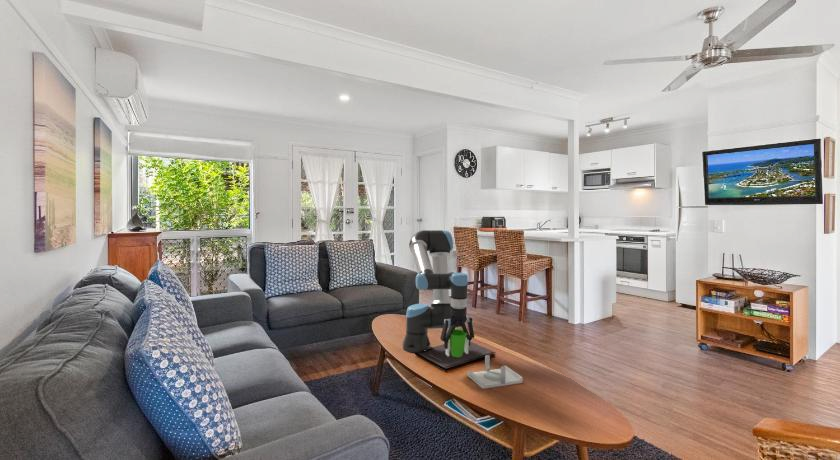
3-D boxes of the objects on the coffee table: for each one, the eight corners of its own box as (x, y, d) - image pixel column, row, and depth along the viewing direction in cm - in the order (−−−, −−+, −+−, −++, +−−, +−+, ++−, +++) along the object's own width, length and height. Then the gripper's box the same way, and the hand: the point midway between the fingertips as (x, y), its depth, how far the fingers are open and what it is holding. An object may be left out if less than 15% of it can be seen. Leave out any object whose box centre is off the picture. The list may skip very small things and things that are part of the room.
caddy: (466, 375, 185) (467, 357, 185) (504, 369, 192) (505, 352, 192) (483, 389, 171) (484, 370, 170) (523, 383, 178) (524, 365, 177)
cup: (465, 359, 183) (466, 336, 182) (445, 357, 185) (446, 334, 184) (467, 352, 192) (468, 329, 191) (448, 350, 194) (449, 328, 193)
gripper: (440, 310, 179) (438, 359, 181) (483, 307, 187) (481, 354, 189) (433, 306, 186) (432, 353, 188) (475, 302, 194) (473, 348, 196)
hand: (456, 353), depth 188 cm, fingers closed on cup, 9 cm apart
